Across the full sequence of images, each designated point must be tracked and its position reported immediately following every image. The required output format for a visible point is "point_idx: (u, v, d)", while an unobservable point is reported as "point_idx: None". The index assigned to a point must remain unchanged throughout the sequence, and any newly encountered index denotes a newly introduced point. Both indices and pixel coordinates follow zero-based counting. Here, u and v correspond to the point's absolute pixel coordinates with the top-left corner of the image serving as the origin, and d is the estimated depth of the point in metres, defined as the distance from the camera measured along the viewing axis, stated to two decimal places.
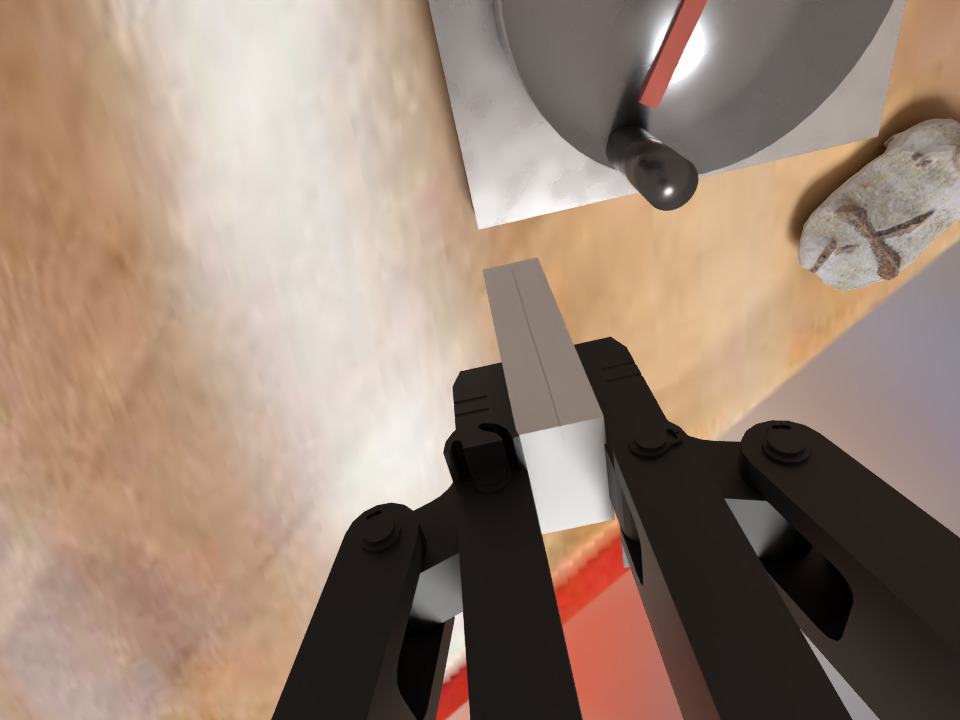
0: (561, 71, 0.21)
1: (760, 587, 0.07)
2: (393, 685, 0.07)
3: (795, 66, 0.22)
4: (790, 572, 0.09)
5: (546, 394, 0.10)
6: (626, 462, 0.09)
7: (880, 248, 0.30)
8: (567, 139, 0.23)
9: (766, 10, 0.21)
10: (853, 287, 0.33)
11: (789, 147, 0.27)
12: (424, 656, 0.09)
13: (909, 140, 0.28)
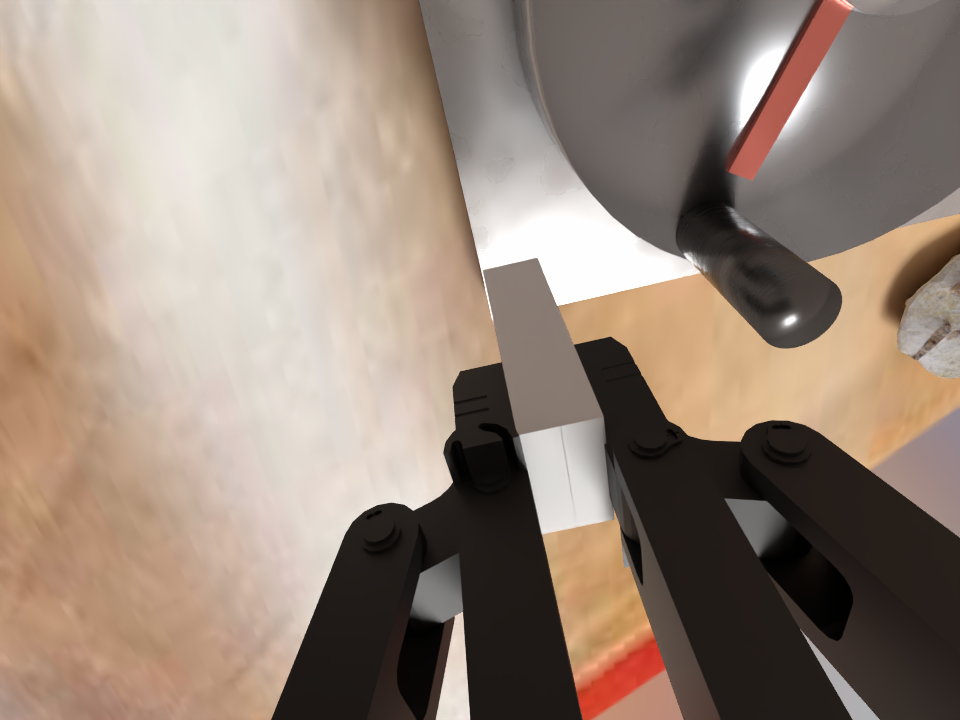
0: (618, 130, 0.15)
1: (760, 587, 0.07)
2: (393, 685, 0.07)
3: (954, 119, 0.15)
4: (790, 572, 0.09)
5: (546, 394, 0.10)
6: (626, 462, 0.09)
7: None
8: (622, 221, 0.16)
9: (923, 41, 0.14)
10: None
11: None
12: (424, 656, 0.09)
13: None
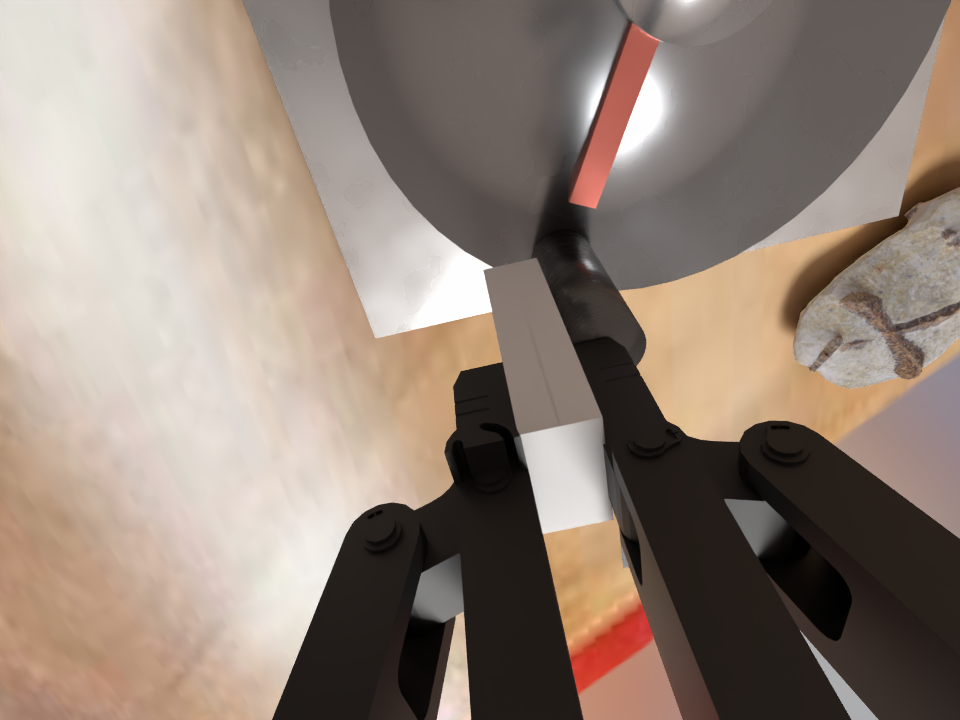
0: (451, 170, 0.15)
1: (759, 587, 0.07)
2: (394, 685, 0.07)
3: (793, 136, 0.15)
4: (789, 573, 0.09)
5: (545, 394, 0.10)
6: (625, 462, 0.09)
7: (899, 344, 0.24)
8: (475, 254, 0.16)
9: (742, 65, 0.14)
10: (864, 385, 0.26)
11: (780, 231, 0.20)
12: (425, 656, 0.09)
13: (938, 213, 0.22)
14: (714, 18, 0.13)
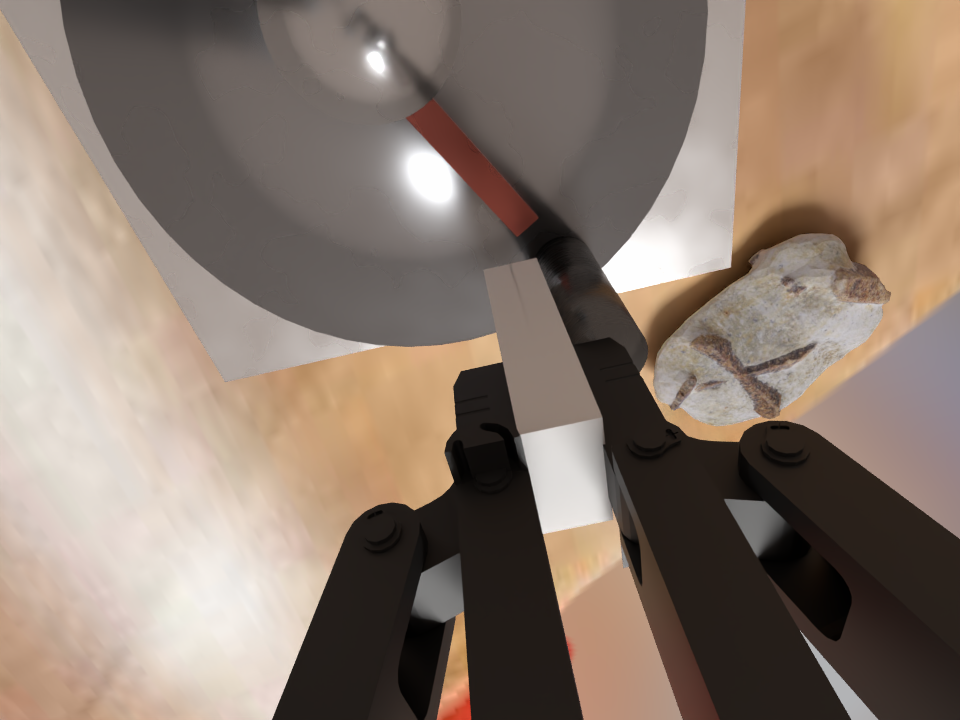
0: (431, 305, 0.17)
1: (759, 587, 0.07)
2: (394, 685, 0.07)
3: None
4: (789, 572, 0.09)
5: (545, 395, 0.10)
6: (625, 462, 0.09)
7: (752, 385, 0.24)
8: None
9: (503, 17, 0.13)
10: (730, 423, 0.26)
11: (615, 282, 0.21)
12: (425, 656, 0.09)
13: (777, 260, 0.22)
14: (436, 44, 0.13)
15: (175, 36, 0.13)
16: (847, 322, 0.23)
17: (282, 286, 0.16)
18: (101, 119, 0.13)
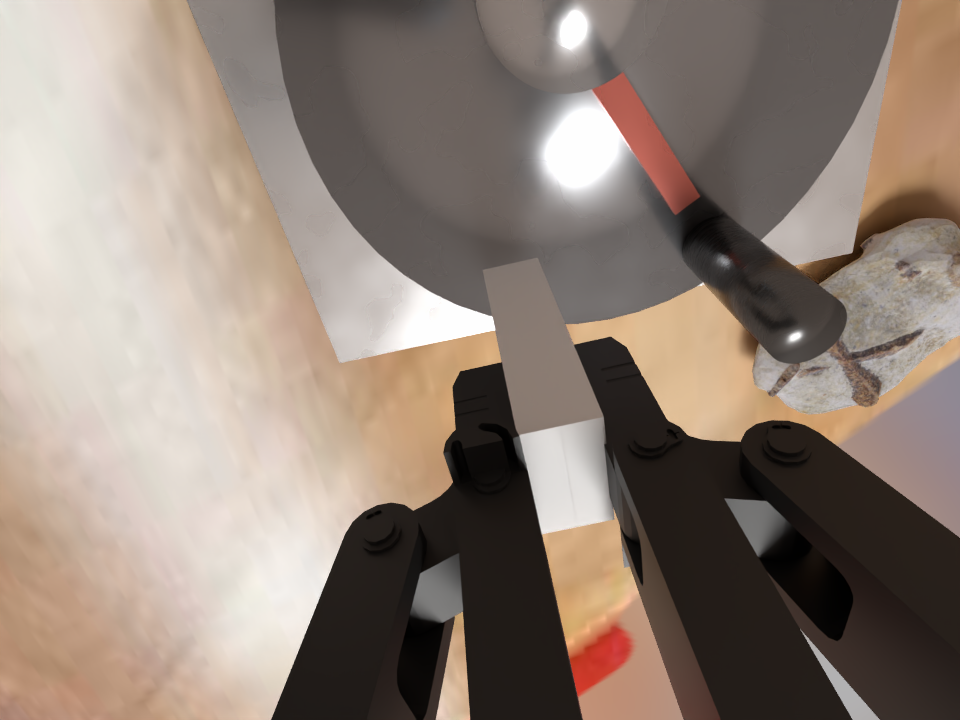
0: (576, 283, 0.17)
1: (760, 587, 0.07)
2: (393, 685, 0.07)
3: None
4: (790, 572, 0.09)
5: (546, 394, 0.10)
6: (626, 462, 0.09)
7: (855, 372, 0.24)
8: (646, 306, 0.18)
9: None
10: (823, 412, 0.26)
11: None
12: (424, 656, 0.09)
13: (892, 244, 0.22)
14: (642, 13, 0.13)
15: None
16: (956, 308, 0.23)
17: (435, 257, 0.16)
18: (290, 78, 0.13)
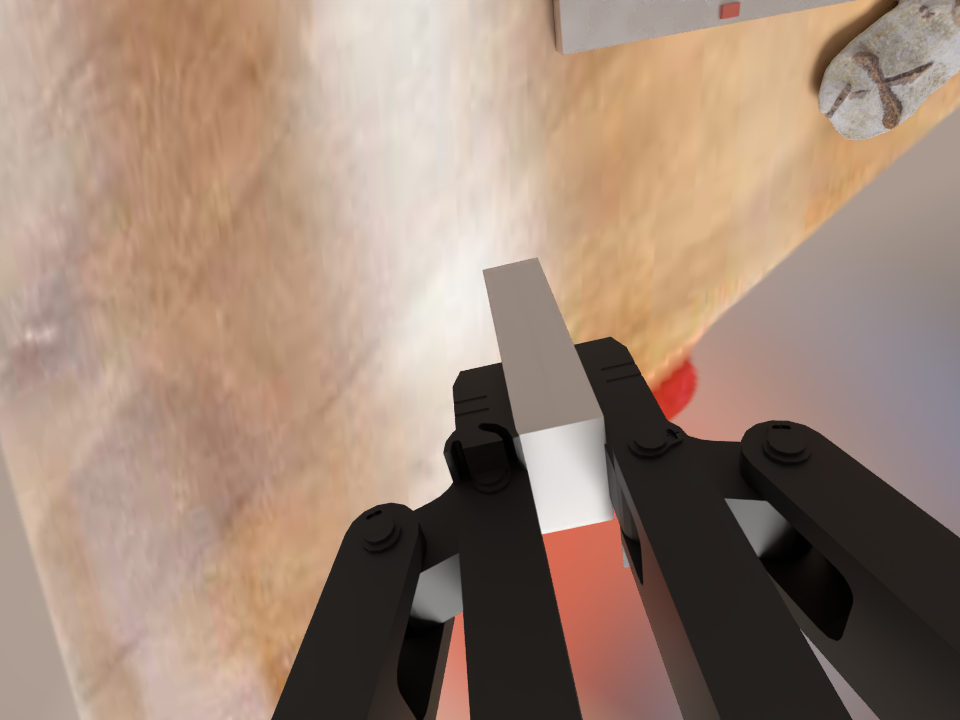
0: None
1: (760, 587, 0.07)
2: (393, 685, 0.07)
3: None
4: (790, 572, 0.09)
5: (546, 394, 0.10)
6: (626, 462, 0.09)
7: (887, 93, 0.36)
8: None
9: None
10: (861, 137, 0.38)
11: None
12: (424, 656, 0.09)
13: None
14: None
15: None
16: (955, 45, 0.35)
17: None
18: None
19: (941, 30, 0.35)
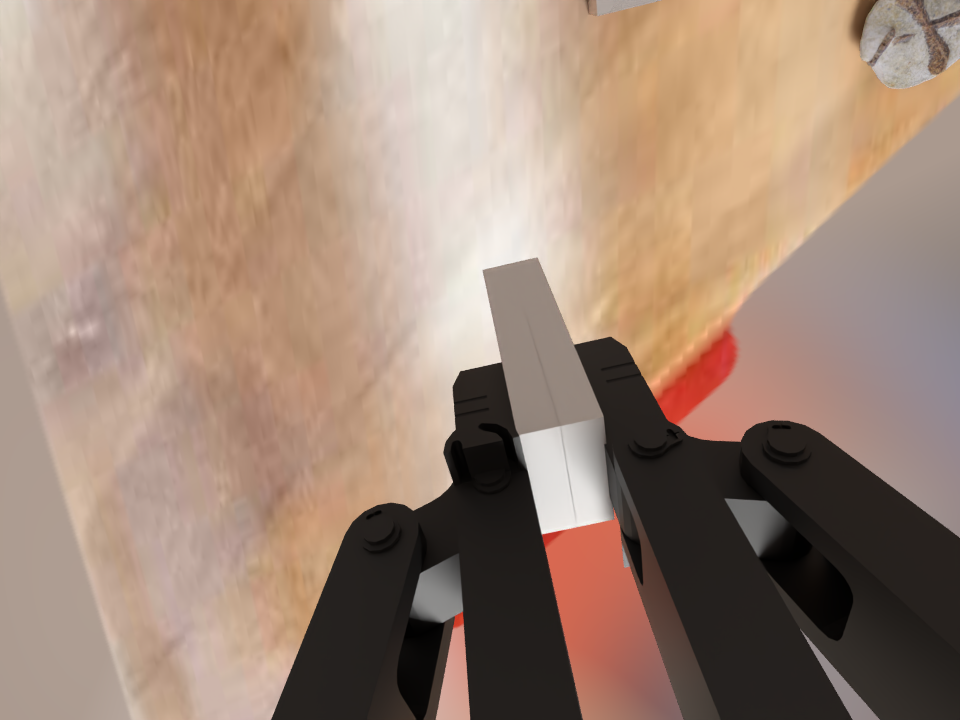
0: None
1: (760, 587, 0.07)
2: (393, 685, 0.07)
3: None
4: (790, 572, 0.09)
5: (546, 394, 0.10)
6: (626, 462, 0.09)
7: (933, 36, 0.35)
8: None
9: None
10: (905, 85, 0.37)
11: None
12: (424, 656, 0.09)
13: None
14: None
15: None
16: None
17: None
18: None
19: None
